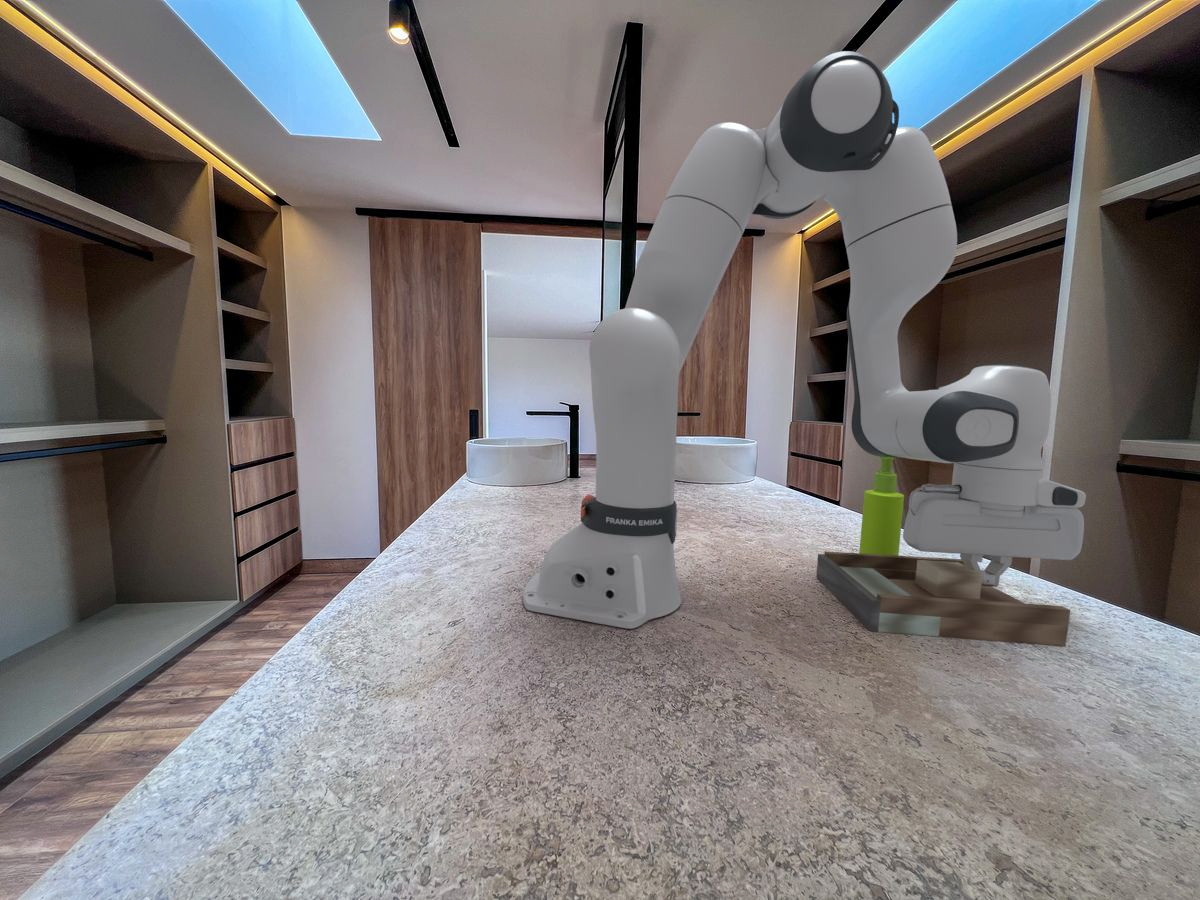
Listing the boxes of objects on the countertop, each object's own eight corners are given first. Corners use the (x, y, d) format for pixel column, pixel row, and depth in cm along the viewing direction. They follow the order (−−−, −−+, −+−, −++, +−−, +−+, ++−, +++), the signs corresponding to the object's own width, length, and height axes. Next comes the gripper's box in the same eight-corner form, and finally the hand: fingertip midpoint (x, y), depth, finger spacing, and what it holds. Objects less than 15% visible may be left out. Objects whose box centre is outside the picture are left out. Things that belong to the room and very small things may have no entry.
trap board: (869, 631, 53) (872, 596, 52) (816, 577, 70) (818, 551, 69) (1065, 645, 50) (1070, 610, 50) (961, 586, 67) (964, 559, 67)
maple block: (935, 596, 58) (938, 571, 57) (915, 582, 62) (917, 559, 62) (979, 599, 57) (982, 574, 57) (955, 585, 61) (958, 562, 61)
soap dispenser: (896, 561, 78) (906, 453, 76) (898, 572, 73) (909, 457, 71) (859, 554, 82) (867, 451, 80) (858, 565, 76) (867, 454, 74)
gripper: (926, 487, 56) (916, 588, 57) (1101, 494, 53) (1086, 600, 55) (898, 479, 62) (889, 570, 63) (1054, 485, 60) (1041, 580, 61)
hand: (982, 584), depth 59 cm, fingers closed
